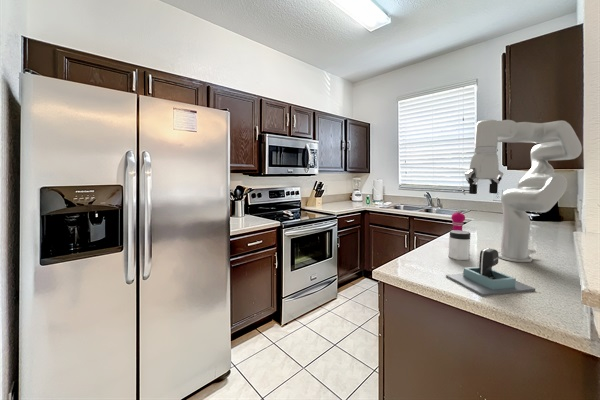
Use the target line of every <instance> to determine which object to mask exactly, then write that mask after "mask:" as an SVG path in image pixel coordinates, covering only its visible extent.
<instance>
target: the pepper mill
mask: <svg viewBox="0 0 600 400" xmlns="http://www.w3.org/2000/svg"><path fill="white" fill-rule="evenodd" d="M450 218H451V220H452V221H451V222H452V230H461V231H463V226H464V221H465V220H466V215H465V214H464V213H462V212H461V210H460V209H457V210H456V212H455V213H452V215H451V217H450Z"/></svg>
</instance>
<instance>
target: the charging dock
mask: <svg viewBox="0 0 600 400" xmlns="http://www.w3.org/2000/svg"><path fill="white" fill-rule="evenodd" d="M462 271H463V273H455V274H454V273H453V274H445V277H446V278H448V279H449V280H451V281H453V282H455V283H457V285H458V284H459V285H460V286H462V287H464V288H466V289H468V290H470V291H471V292H473V293H475V294H476V295H477V294H478V295H479V296H481V297H488V296H489V297H491V296H492V297H493V296H499V295H508V294H518V293H519V294H520V293H528V292H535V291H536V288H535V287H532V286H530V285H528V284H525V283H522V282H521V281H518V280H517V278H516V277H513V276H511V275H507V274H505V273H503V272H500V271H497V270H495V269H493V268H492V274H493V276H494V278H495V279H490V278H488V277H486V276H483V275H481V274H479V266H472V267H471V266H470V267H463V270H462Z"/></svg>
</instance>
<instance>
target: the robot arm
mask: <svg viewBox="0 0 600 400" xmlns="http://www.w3.org/2000/svg"><path fill="white" fill-rule="evenodd" d="M474 139H475V140H474V153H473V154H474V155H472V156H471V159H470V164H469V170H468V171H467V172H465V173H464V176H465V177H464V178H465V179H466V181H467V184H468V185H469V188H468V194H471V195H477V193H478V184H477V183H478V181H479V180H489V182H490V183H489V188H488V189H489V191H488V192H489V194H496V195H497V194H498V189H499V188H498V187H499V186H498V185H499V184H500V181H501V180H502V178H503V176H504V173H503V171H502V170H499V169H500V167H499V165H500V164H499V156H498V151H499V150H498V143H528V144H536V145H534V146H533V147H532V148H531V150H530V163H531V168H530V169H529V170H528V171H527V172H526V173H525V175H523V176H522V178H520V179H519V182H518V183H517V188H509V189H507V190H505V191H503V192H502V194H501V198H500V199H501V207H502V225H501V226H502V227H501V241H500V251H498V259H502V260H505V261H509V262H515V263H516V262H517V263H531V262H532V261H533V257H531V256H530V255H532V254H533V255H534V254H536V253H537V251H536V250H535V249H530V248H529V243H530V231H531V229H530V228H531V219H530V216H529V215H528V213H527V212H530V213H532V212H533V213H547V212H549V211H551V209H552V208H553V207H554V206H555V205H556V204H557V202H558V201H559V200H560V199H561V198H562V197H563V196H564V195H565V193H566V190H567V187H568V180H567V178H566V177H565V176H564V175H562V174H561V173H555V169H554V167H553V166H552V165H551V164H550V162H548V161H569V160H575V159H577V158H579V156H580V155H581V153H582V151H583V147H582V143H581V141H580V139H579V137H578V136H577V134H576V131H575V130H574V128H573V127H572V125H571V124H570V123H569V122H567V121H566V120H555V121H549V122H542V123H541V122H531V121H530V122H529V121H522V122H521V121H520V122H516V121H515V120H511V119H504V120H503V119H501V120H497V119H485V120H480V121H477V123H476V124H475V137H474Z"/></svg>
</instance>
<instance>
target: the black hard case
mask: <svg viewBox="0 0 600 400" xmlns="http://www.w3.org/2000/svg"><path fill="white" fill-rule="evenodd" d="M498 252H499V251H498V250H497V249H494V248H490V247H486V248H483V249H481V250H480V253H479V263H478V264H479V265H478V267H479V274H481V275H483V276H486V277H488V278H490V279H495V278H494V276H493V274H492V269H493V267H494V266H497V265H498V264H499V257H498Z"/></svg>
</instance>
